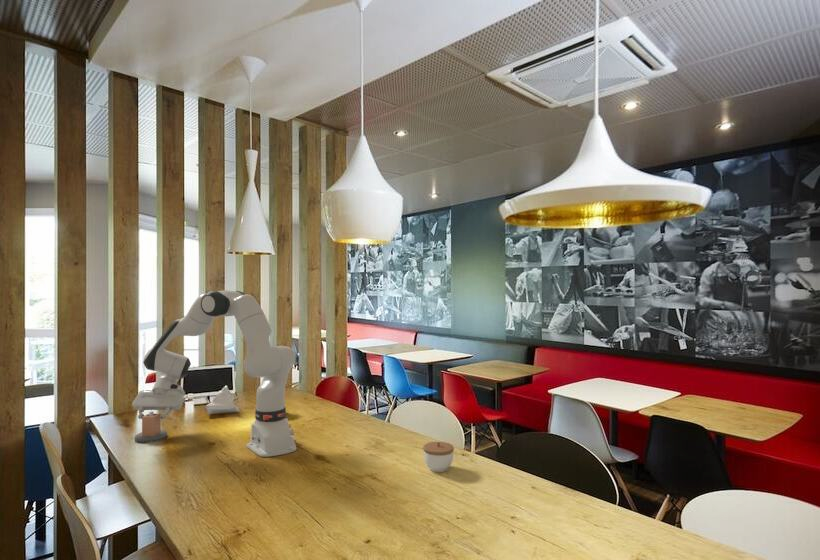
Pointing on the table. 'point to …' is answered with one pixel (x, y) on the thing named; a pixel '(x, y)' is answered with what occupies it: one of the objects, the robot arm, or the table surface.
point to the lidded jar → (438, 455)
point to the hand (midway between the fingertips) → (151, 418)
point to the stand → (150, 438)
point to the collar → (151, 425)
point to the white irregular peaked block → (222, 403)
